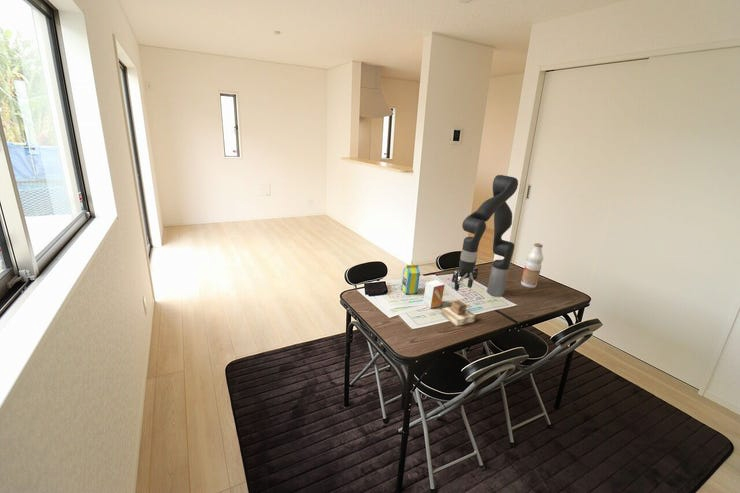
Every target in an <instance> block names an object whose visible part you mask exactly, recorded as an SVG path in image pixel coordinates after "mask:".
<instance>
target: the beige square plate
mask: <svg viewBox="0 0 740 493" xmlns="http://www.w3.org/2000/svg"><path fill="white" fill-rule="evenodd" d="M451 307H452V305H451V306H448V307H442V308H441V313H440V315H441V316H442V317H444V318H445V319H446V320H448V321H449V322H450V323H452V324H453V325H454V326H456V327H458V326H460V327H461V326H462V325H463V326H464V325H467V324H470V323H474V322H475V320H476V317H477V316H476V314H474V313H473V312H471V311H470V310H469V309H467V308H466V311H465V314H461V315H456V314H455V313H454V312H452V311H451Z"/></svg>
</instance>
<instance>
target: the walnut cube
mask: <svg viewBox="0 0 740 493" xmlns="http://www.w3.org/2000/svg"><path fill="white" fill-rule="evenodd" d="M451 306H452V307H451ZM451 306H450V307H451V311H452V312H454V313H455V314H456V315H461V314H465V311H466V309H467V304H466V303H465V302H463V301H462V300H460V299H459V300H454V301H452V303H451Z"/></svg>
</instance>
